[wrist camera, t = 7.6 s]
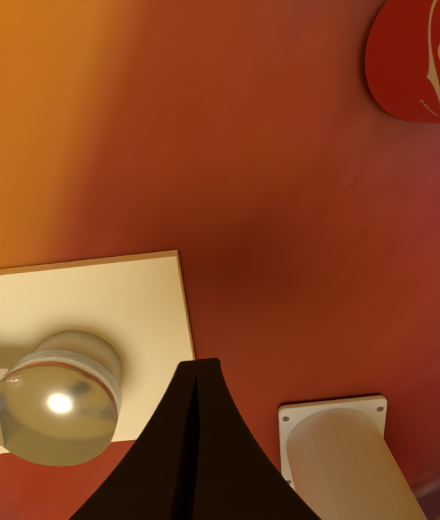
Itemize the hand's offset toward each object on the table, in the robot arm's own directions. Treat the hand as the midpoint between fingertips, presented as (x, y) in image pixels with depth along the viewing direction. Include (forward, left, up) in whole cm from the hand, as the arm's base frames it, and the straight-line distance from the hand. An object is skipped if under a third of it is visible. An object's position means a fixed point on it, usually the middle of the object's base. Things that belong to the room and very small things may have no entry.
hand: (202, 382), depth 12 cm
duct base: (-6, +9, -10) cm, 15 cm away
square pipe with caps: (-5, +13, -7) cm, 16 cm away
